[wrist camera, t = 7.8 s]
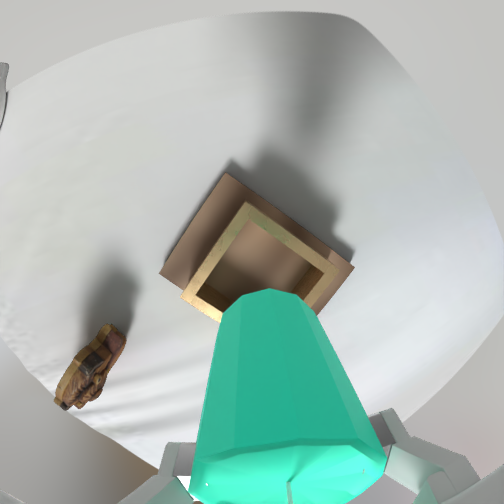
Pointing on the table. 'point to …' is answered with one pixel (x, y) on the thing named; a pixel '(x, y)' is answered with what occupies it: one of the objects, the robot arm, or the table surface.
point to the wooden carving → (90, 369)
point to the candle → (280, 412)
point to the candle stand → (250, 254)
